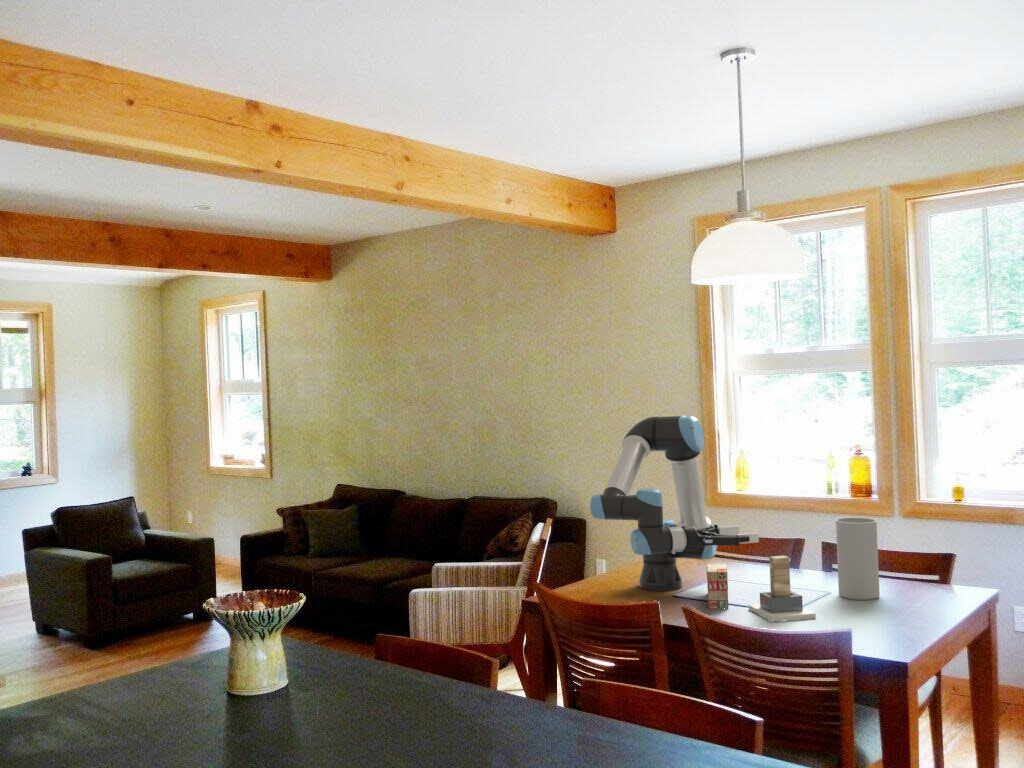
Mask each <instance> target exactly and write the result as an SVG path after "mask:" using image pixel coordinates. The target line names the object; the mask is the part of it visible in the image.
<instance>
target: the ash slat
mask: <svg viewBox="0 0 1024 768" xmlns="http://www.w3.org/2000/svg"><path fill="white" fill-rule="evenodd" d="M768 558H769V560H768V561H769V581H770V592H771V596H773V597H780V596H791V593H790V591H791V575H790V574H791V571H790V557H789V556H787V555H775V556H769V557H768Z"/></svg>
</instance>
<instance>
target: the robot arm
mask: <svg viewBox="0 0 1024 768" xmlns="http://www.w3.org/2000/svg"><path fill="white" fill-rule="evenodd" d="M704 437H705V436H704V430H703V427H702V424H701V422H700V420H699V419H698V418H697V417H695V416H693V415H690V416H689V415H688V416H686V415H679V416H676V415H675V416H650V417H649V416H648V417H646V418H644V419H642V420H641V421H638V423H636V424H635V425H633V426H632V427H631V428H630V429H629V430H628V431H627V433H626V434H625V436H624V438H623V440H622V442H621V448H622V450H621V451H620V454H619V457H618V459H617V460H616V464H615V466H614V468H613V470H612V473H611V475H610V477H609V480H608V481H607V484H606V486H605V488H604V490H603V493H602V494H601V493H598V494H594V495H593V496H592V497H591V499H590V502H589V503H590V504H589V509H590V514H591V516H592V517H593V518H594V519H598V520H604V521H608V520H609V521H637V529H636V528H635V529H634V530H632V531H631V534H630V546H631V550H632V551H633V552H634V554H636V555H638V556H641V555H642V560H643V561H642V564H643V565H642V568H641V573H640V575H639V580H638V586H639V588H640V589H643V590H647V591H658V592H663V591H664V592H666V591H674V590H679V589H680V588H682V587H683V581H682V580H683V579H682V577H681V574H680V572H679V569H678V566H677V559H687V560H688V559H689V560H690V559H693V560H694V559H695V560H701V561H702V560H711V559H713V558H714V557H715V555H716V553H717V550H718V546H736V548H738V547H740V545H741V544H754V543H760V537H759V536H760V535H759V534H760V533H759V532H751V533H740V526H739V525H729V526H719V525H718V524H713V525H712V521H711V519H710V518H709V517H708V516H706V511H705V505H704V498H703V497H704V496H703V492H702V487H701V479H700V478H701V477H700V471H699V466H698V460H697V459H698V457H699V455H700V454H701V452H702V450H703V449H704V446H705V439H704ZM652 452H664V455H665V459H666V460H668V461H669V462H670V464H671V470H672V475H673V482H674V488H675V493H676V500H677V501H676V502H677V506H678V511H679V516H680V517H679V518H680V519H679V520H678V522H677V524H676V522H675V520H674V519H664V512H663V511H664V509H663V508H664V507H663V506H664V503H663V496H662V492H661V490H660V489H658V488H652V487H651V488H650V487H649V488H640V489H637V491H636V494H630V492H631V490H632V487H633V485H634V483H635V480H636V478H637V475H638V473H639V471H640V468H641V467H642V463H643V460H644V459H646V458H647V457H648V456H649V455H650V453H652Z"/></svg>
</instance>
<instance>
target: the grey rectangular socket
mask: <svg viewBox="0 0 1024 768" xmlns="http://www.w3.org/2000/svg"><path fill="white" fill-rule="evenodd" d="M790 593H791V596H780V597H773V596H771V591H767V592H765V591H764V592H759V604H760V607H761V608H763V609H765V610H767V611H768V612H770V613H783V612H794V611H803V608H804V607H803V605H804V604H803V595H801V594H800V593H796V592H794V591H792V590H790Z"/></svg>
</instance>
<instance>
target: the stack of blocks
mask: <svg viewBox="0 0 1024 768" xmlns="http://www.w3.org/2000/svg"><path fill="white" fill-rule="evenodd" d="M727 568H728V567H727V565H726V563H706V578H707V580H706V581H707V584H706V585H707V600H708V601H707V602H708V609H709V610H729V592H728V591H729V587H728V586H729V584H728V583H729V580H728V569H727ZM724 608H725V609H724Z"/></svg>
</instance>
